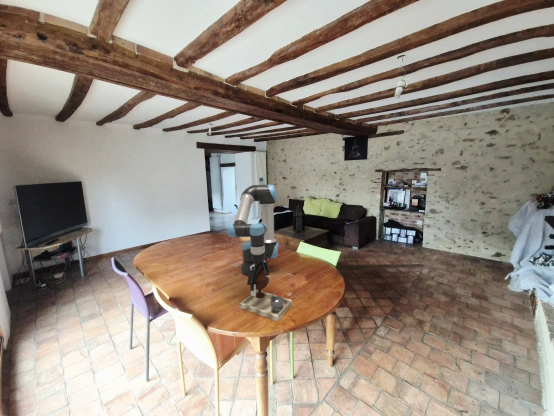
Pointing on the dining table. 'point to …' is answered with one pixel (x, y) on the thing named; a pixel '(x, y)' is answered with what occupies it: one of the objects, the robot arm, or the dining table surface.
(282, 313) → the cream rectangular tray
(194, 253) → the dining table surface
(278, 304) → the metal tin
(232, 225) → the robot arm
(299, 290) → the dining table surface
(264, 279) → the ice cream bowl
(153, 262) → the dining table surface
